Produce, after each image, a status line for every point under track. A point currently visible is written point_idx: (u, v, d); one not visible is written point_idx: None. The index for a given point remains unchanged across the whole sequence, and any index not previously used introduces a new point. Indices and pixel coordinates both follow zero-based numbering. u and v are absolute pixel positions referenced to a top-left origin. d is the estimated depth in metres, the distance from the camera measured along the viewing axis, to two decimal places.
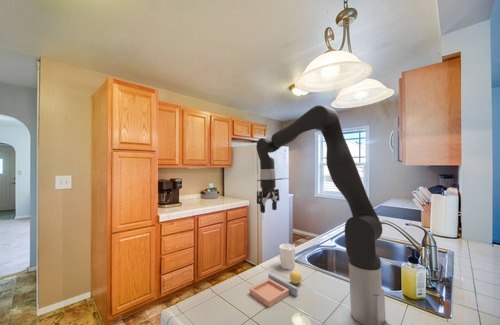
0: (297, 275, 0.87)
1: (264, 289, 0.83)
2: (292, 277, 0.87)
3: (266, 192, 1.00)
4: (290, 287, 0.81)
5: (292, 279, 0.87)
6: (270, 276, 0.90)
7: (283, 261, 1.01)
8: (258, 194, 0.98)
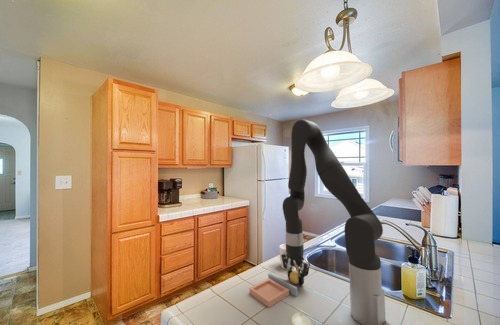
0: (297, 275, 0.87)
1: (264, 289, 0.83)
2: (292, 277, 0.87)
3: None
4: (290, 287, 0.81)
5: (292, 279, 0.87)
6: (270, 276, 0.90)
7: None
8: (307, 267, 0.84)
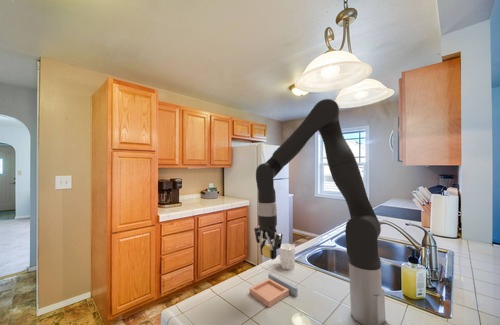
0: (269, 249, 0.80)
1: (264, 289, 0.83)
2: (264, 250, 0.80)
3: None
4: (290, 287, 0.81)
5: (264, 253, 0.80)
6: (270, 276, 0.90)
7: (283, 261, 1.01)
8: (279, 238, 0.77)
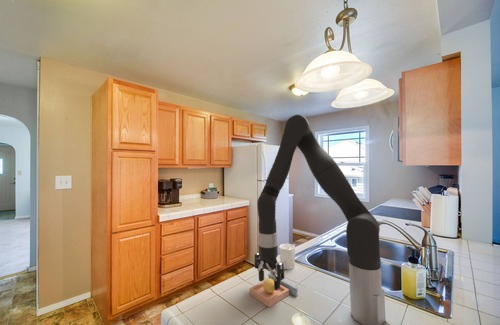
0: (270, 284, 0.80)
1: None
2: (265, 285, 0.80)
3: None
4: (290, 287, 0.81)
5: (265, 288, 0.80)
6: (270, 276, 0.90)
7: (283, 261, 1.01)
8: (281, 268, 0.76)
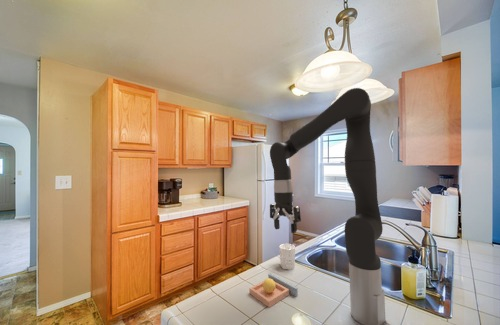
0: (270, 284, 0.80)
1: None
2: (265, 285, 0.80)
3: None
4: (290, 287, 0.81)
5: (265, 288, 0.80)
6: (270, 276, 0.90)
7: (283, 261, 1.01)
8: (297, 210, 0.80)
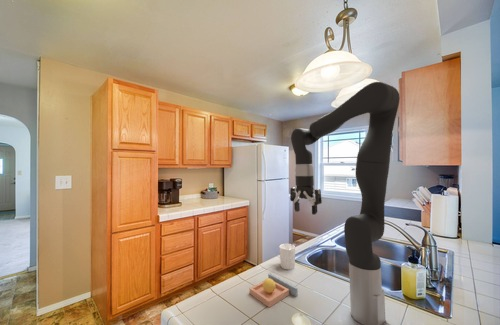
0: (270, 284, 0.80)
1: None
2: (265, 285, 0.80)
3: None
4: (290, 287, 0.81)
5: (265, 288, 0.80)
6: (270, 276, 0.90)
7: (283, 261, 1.01)
8: (319, 193, 0.83)
